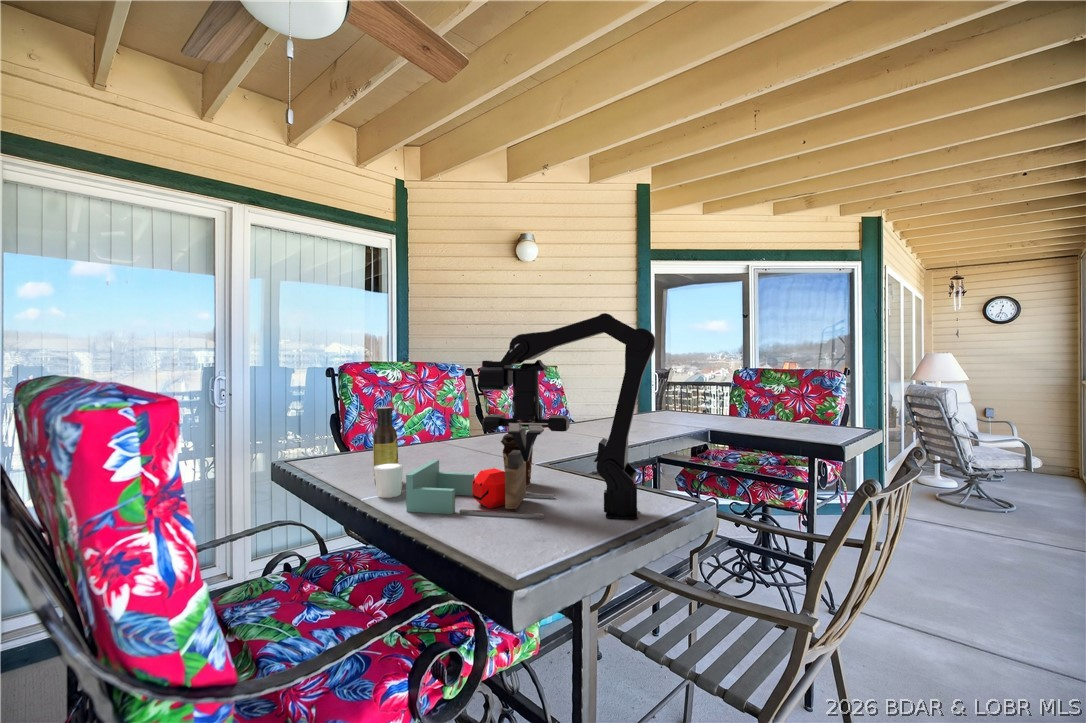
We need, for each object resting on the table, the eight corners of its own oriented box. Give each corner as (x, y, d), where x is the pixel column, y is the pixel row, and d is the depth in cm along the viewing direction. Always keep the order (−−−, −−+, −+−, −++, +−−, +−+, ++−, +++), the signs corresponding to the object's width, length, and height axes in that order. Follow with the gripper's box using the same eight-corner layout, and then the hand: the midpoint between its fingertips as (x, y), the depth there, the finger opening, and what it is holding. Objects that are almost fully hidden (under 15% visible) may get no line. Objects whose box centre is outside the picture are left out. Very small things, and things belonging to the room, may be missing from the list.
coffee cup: (498, 489, 125) (498, 437, 124) (502, 480, 133) (502, 432, 133) (533, 489, 124) (533, 437, 124) (535, 480, 133) (535, 432, 132)
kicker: (526, 495, 116) (525, 448, 116) (516, 508, 106) (515, 457, 106) (516, 494, 117) (515, 448, 116) (505, 508, 107) (504, 457, 106)
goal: (474, 493, 121) (474, 461, 121) (452, 514, 106) (452, 476, 106) (433, 491, 123) (433, 459, 123) (406, 511, 108) (406, 474, 108)
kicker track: (554, 497, 117) (554, 494, 117) (542, 519, 103) (542, 515, 103) (480, 494, 121) (480, 490, 121) (459, 514, 106) (459, 510, 106)
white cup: (400, 488, 126) (400, 461, 126) (406, 495, 120) (406, 466, 120) (371, 492, 123) (371, 464, 122) (377, 500, 116) (376, 470, 116)
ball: (467, 504, 113) (467, 470, 113) (496, 497, 118) (496, 465, 118) (487, 512, 107) (487, 477, 107) (517, 505, 112) (517, 471, 112)
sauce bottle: (402, 482, 132) (401, 407, 131) (380, 487, 128) (379, 409, 127) (391, 477, 137) (390, 405, 136) (369, 482, 132) (368, 407, 132)
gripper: (572, 388, 117) (572, 454, 117) (494, 388, 120) (495, 452, 120) (565, 392, 106) (566, 465, 106) (481, 392, 109) (481, 463, 109)
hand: (526, 461), depth 111 cm, fingers closed
